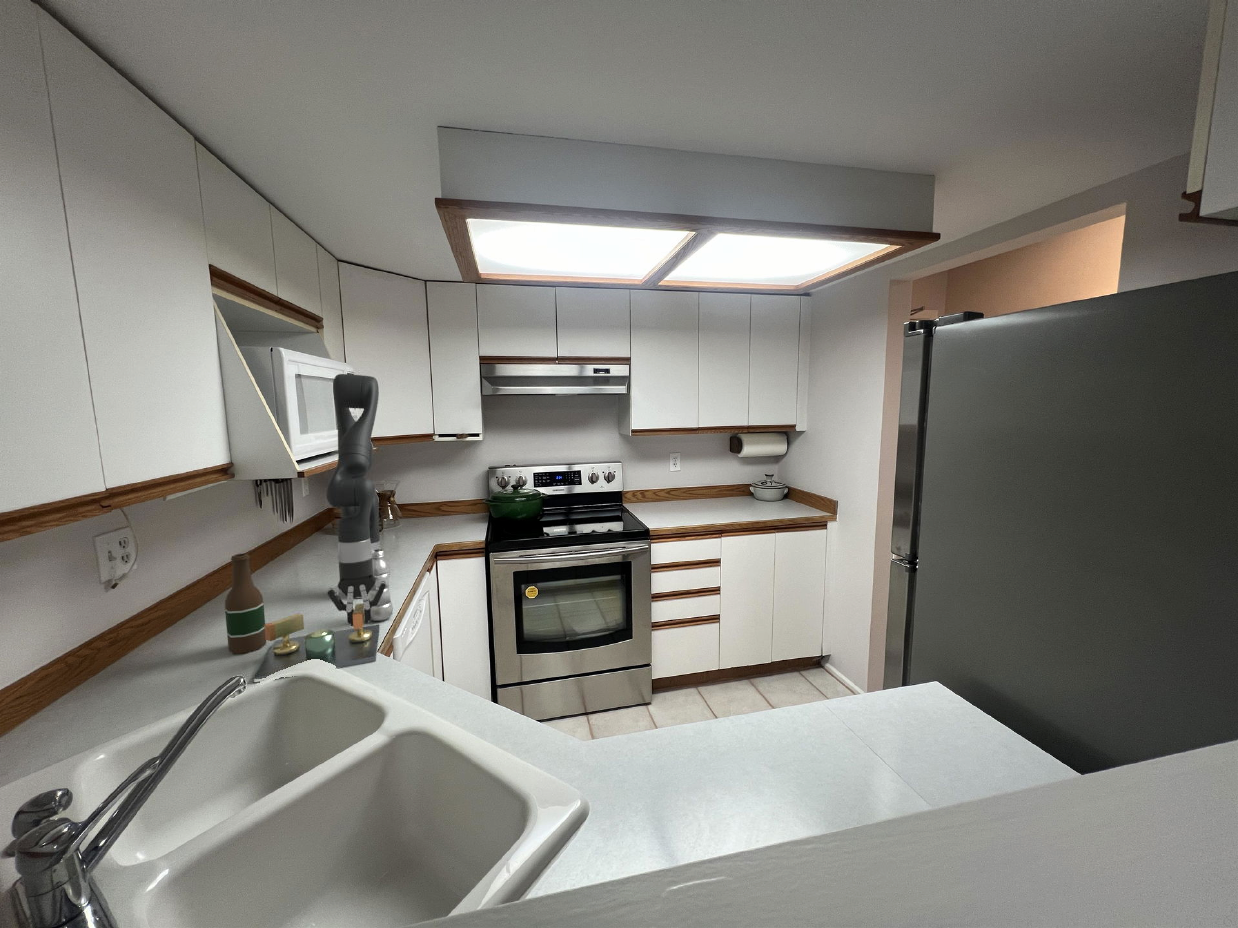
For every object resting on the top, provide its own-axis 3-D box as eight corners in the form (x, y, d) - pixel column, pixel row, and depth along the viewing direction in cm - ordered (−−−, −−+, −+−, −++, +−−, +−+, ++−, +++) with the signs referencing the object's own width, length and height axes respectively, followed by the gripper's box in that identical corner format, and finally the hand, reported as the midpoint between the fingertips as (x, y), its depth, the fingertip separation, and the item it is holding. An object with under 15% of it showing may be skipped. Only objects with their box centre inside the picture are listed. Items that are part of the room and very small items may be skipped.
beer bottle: (274, 642, 129) (267, 551, 127) (244, 656, 122) (236, 560, 119) (251, 639, 131) (243, 549, 129) (220, 653, 124) (212, 558, 121)
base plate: (275, 645, 128) (273, 619, 127) (379, 628, 137) (378, 604, 136) (253, 683, 109) (251, 653, 109) (375, 660, 119) (374, 633, 118)
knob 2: (350, 633, 131) (348, 605, 130) (372, 630, 133) (371, 602, 132) (347, 645, 124) (345, 615, 123) (370, 642, 126) (369, 612, 125)
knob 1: (296, 641, 126) (294, 611, 126) (308, 645, 124) (306, 615, 123) (263, 654, 120) (260, 623, 119) (275, 658, 117) (272, 627, 116)
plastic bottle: (383, 624, 140) (379, 554, 138) (362, 622, 141) (358, 553, 139) (398, 615, 146) (394, 548, 144) (377, 613, 147) (373, 547, 145)
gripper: (386, 550, 132) (390, 613, 134) (325, 556, 127) (330, 622, 128) (385, 557, 125) (389, 624, 127) (321, 564, 120) (326, 634, 122)
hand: (359, 623), depth 128 cm, fingers closed
